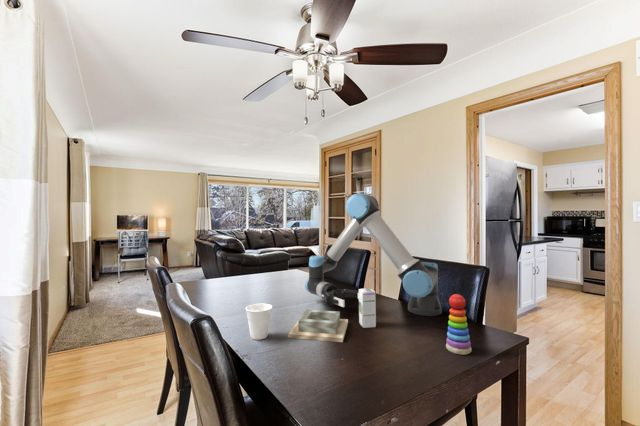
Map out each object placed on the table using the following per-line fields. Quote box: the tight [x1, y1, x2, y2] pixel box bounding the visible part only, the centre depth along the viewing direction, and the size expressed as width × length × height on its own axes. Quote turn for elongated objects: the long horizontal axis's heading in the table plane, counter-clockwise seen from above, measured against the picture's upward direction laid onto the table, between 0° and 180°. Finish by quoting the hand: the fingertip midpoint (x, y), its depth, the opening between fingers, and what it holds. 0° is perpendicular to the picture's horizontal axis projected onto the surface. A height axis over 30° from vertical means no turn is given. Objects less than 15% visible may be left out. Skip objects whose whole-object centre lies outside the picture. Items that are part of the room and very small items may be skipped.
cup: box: [245, 303, 273, 341], centre depth 116 cm, size 10×10×11 cm
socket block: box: [287, 309, 349, 343], centre depth 123 cm, size 20×20×6 cm
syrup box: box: [358, 287, 377, 329], centre depth 128 cm, size 6×6×14 cm
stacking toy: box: [445, 293, 473, 355], centre depth 105 cm, size 8×8×19 cm
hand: (356, 301), depth 133 cm, fingers open, 13 cm apart
